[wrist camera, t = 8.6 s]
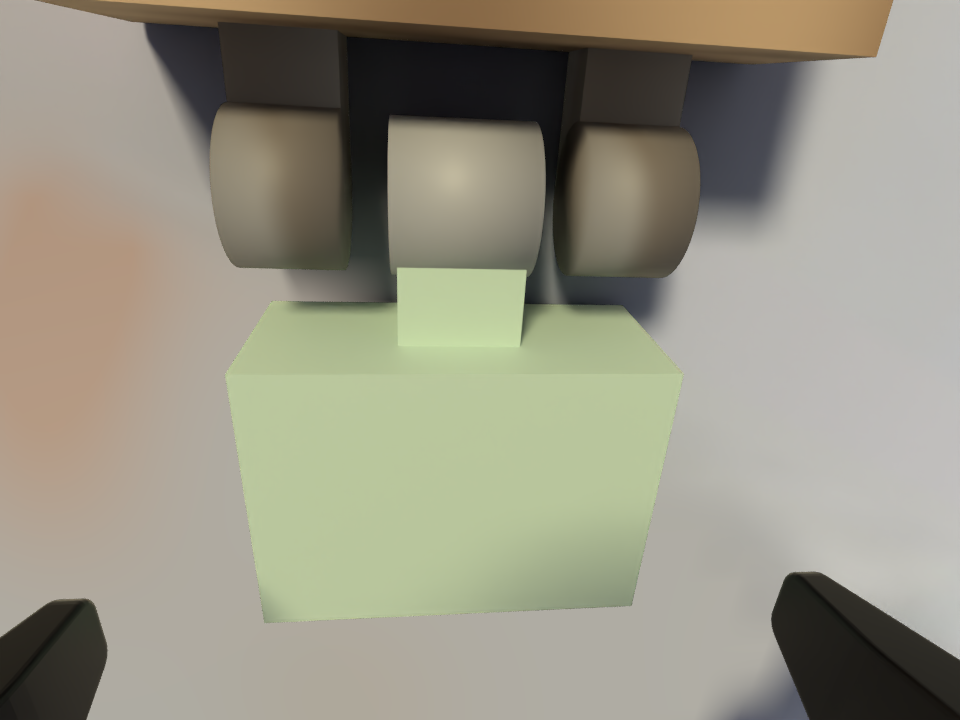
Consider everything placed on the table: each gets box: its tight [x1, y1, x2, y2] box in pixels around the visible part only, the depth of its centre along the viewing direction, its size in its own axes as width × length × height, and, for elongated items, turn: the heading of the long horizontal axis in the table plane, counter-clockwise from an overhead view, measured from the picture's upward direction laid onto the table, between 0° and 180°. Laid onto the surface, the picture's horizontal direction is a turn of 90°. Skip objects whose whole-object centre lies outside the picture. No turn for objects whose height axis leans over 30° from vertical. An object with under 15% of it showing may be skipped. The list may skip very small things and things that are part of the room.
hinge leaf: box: [225, 115, 684, 623], centre depth 10 cm, size 7×8×3 cm
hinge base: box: [36, 0, 893, 278], centre depth 8 cm, size 10×6×3 cm, turn 87°
